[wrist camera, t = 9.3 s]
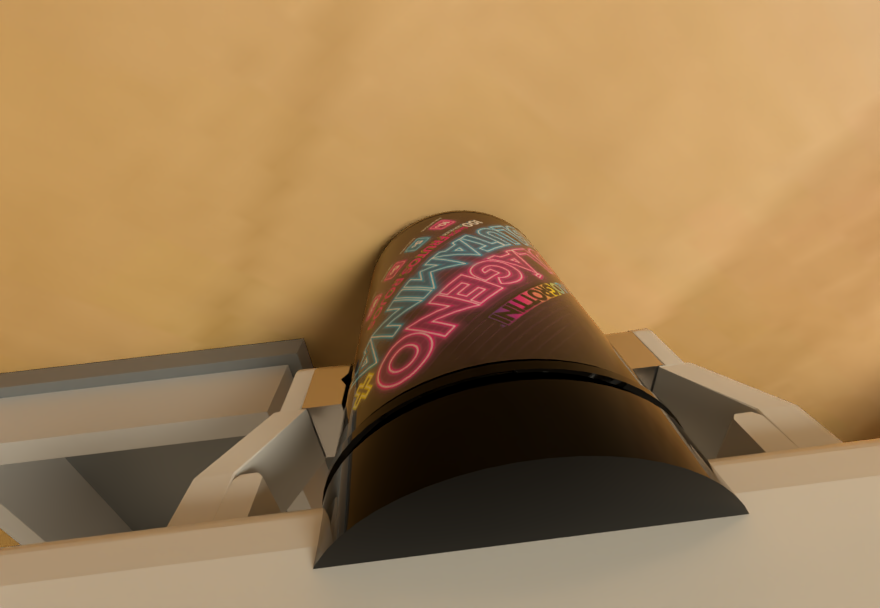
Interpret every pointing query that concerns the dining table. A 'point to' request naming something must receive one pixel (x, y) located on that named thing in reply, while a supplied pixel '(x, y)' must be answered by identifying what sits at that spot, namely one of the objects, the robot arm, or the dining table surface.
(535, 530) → the supplement container
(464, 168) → the dining table surface
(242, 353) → the square shallow tray
